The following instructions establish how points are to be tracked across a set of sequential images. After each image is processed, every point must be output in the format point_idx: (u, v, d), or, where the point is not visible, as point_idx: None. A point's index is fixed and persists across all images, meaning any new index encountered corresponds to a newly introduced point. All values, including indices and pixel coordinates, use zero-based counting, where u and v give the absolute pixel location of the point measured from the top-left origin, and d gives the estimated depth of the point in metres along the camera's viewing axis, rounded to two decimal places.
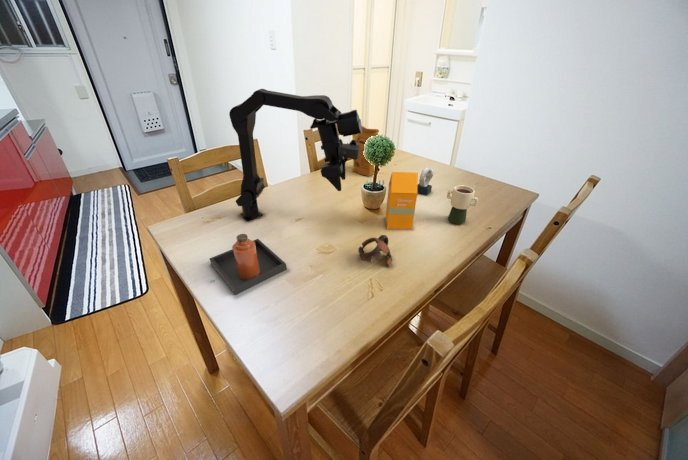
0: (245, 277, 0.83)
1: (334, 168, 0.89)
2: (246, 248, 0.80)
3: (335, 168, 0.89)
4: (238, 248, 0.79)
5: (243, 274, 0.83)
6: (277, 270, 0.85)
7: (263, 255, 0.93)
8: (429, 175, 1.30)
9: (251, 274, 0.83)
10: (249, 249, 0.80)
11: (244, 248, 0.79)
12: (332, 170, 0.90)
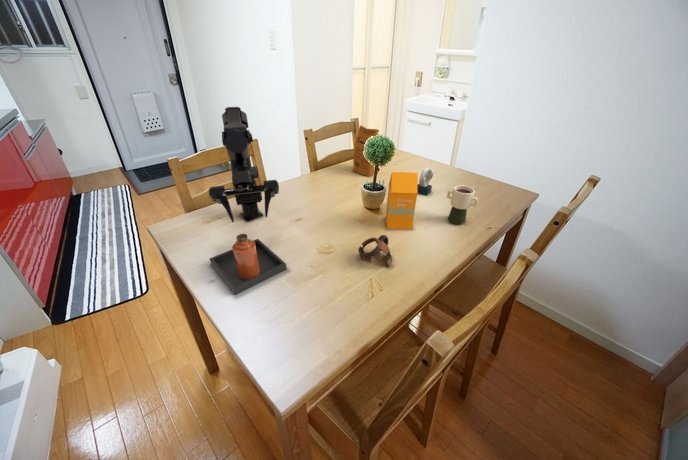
0: (245, 277, 0.83)
1: (209, 190, 0.83)
2: (246, 248, 0.80)
3: (209, 190, 0.83)
4: (238, 248, 0.79)
5: (243, 274, 0.83)
6: (277, 270, 0.85)
7: (263, 255, 0.93)
8: (429, 175, 1.30)
9: (251, 274, 0.83)
10: (249, 249, 0.80)
11: (244, 248, 0.79)
12: None
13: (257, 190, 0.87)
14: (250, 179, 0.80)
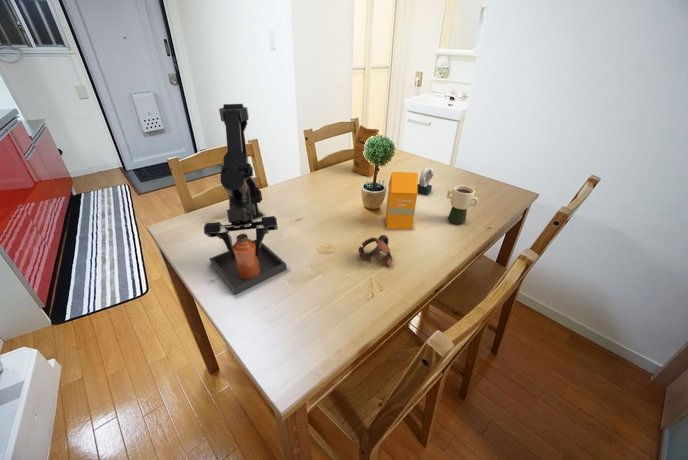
0: (245, 277, 0.83)
1: None
2: (246, 248, 0.80)
3: None
4: (238, 248, 0.79)
5: (243, 274, 0.83)
6: (277, 270, 0.85)
7: (263, 255, 0.93)
8: (429, 175, 1.30)
9: (251, 274, 0.83)
10: (249, 249, 0.80)
11: (244, 248, 0.79)
12: None
13: (254, 226, 0.83)
14: (245, 217, 0.76)
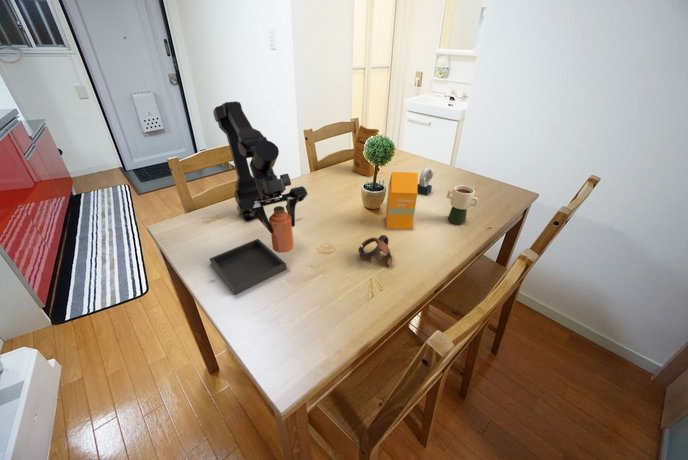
0: (284, 250, 0.84)
1: (238, 204, 0.78)
2: (285, 219, 0.80)
3: (238, 204, 0.78)
4: (277, 220, 0.79)
5: (282, 247, 0.83)
6: (277, 270, 0.85)
7: (263, 255, 0.93)
8: (429, 175, 1.30)
9: (289, 246, 0.84)
10: (288, 220, 0.81)
11: (283, 219, 0.80)
12: (238, 207, 0.78)
13: (285, 199, 0.84)
14: (284, 187, 0.77)
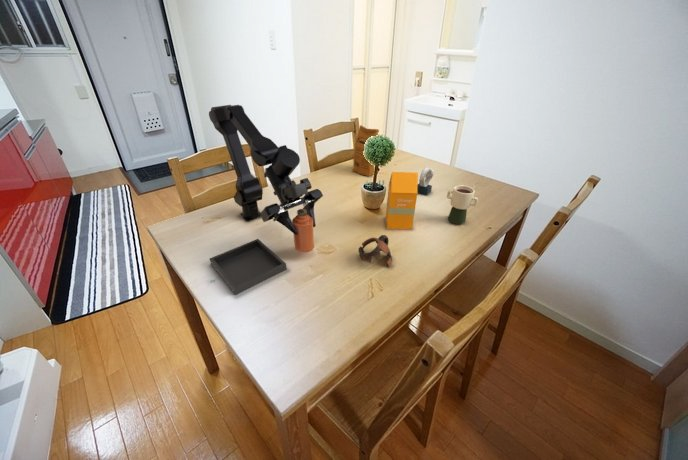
0: (307, 249, 0.89)
1: (264, 210, 0.82)
2: (308, 220, 0.86)
3: (264, 210, 0.81)
4: (302, 222, 0.85)
5: (306, 246, 0.89)
6: (277, 270, 0.85)
7: (263, 255, 0.93)
8: (429, 175, 1.30)
9: (312, 245, 0.90)
10: (311, 221, 0.87)
11: (307, 221, 0.86)
12: (264, 213, 0.82)
13: (303, 202, 0.90)
14: (307, 191, 0.83)
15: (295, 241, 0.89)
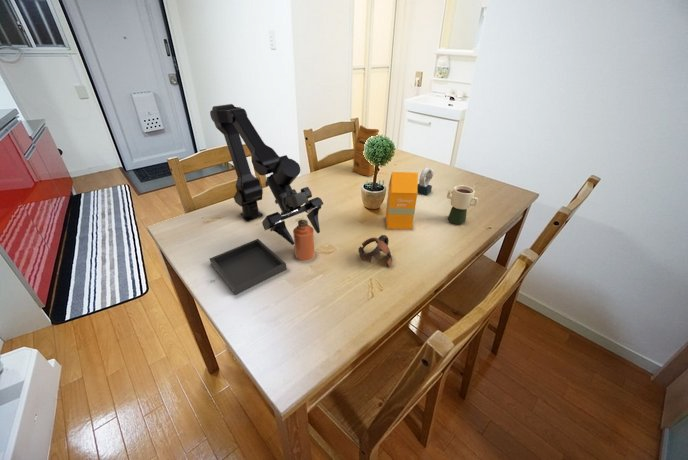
0: (308, 259, 0.91)
1: (265, 219, 0.83)
2: (309, 231, 0.88)
3: (266, 219, 0.83)
4: (303, 232, 0.87)
5: (307, 256, 0.91)
6: (277, 270, 0.85)
7: (263, 255, 0.93)
8: (429, 175, 1.30)
9: (312, 255, 0.92)
10: (311, 231, 0.88)
11: (308, 231, 0.87)
12: (266, 222, 0.84)
13: (304, 210, 0.91)
14: (307, 200, 0.85)
15: (296, 251, 0.91)
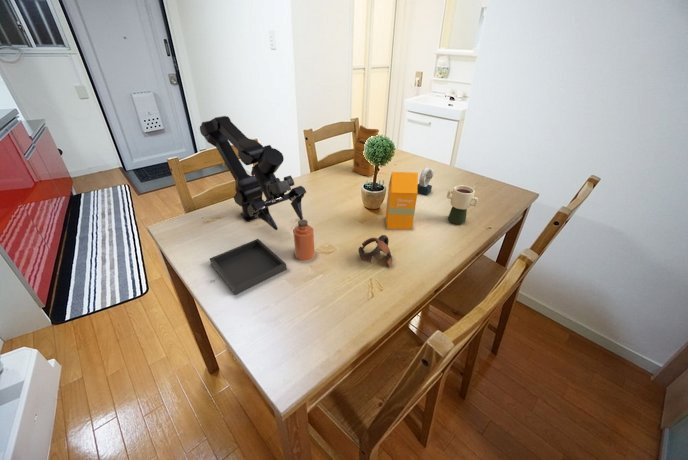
0: (308, 259, 0.91)
1: (250, 205, 0.88)
2: (309, 231, 0.88)
3: (250, 205, 0.88)
4: (303, 232, 0.87)
5: (307, 256, 0.91)
6: (277, 270, 0.85)
7: (263, 255, 0.93)
8: (429, 175, 1.30)
9: (312, 255, 0.92)
10: (311, 231, 0.88)
11: (308, 231, 0.87)
12: (250, 208, 0.89)
13: (287, 198, 0.96)
14: (290, 187, 0.90)
15: (296, 251, 0.91)
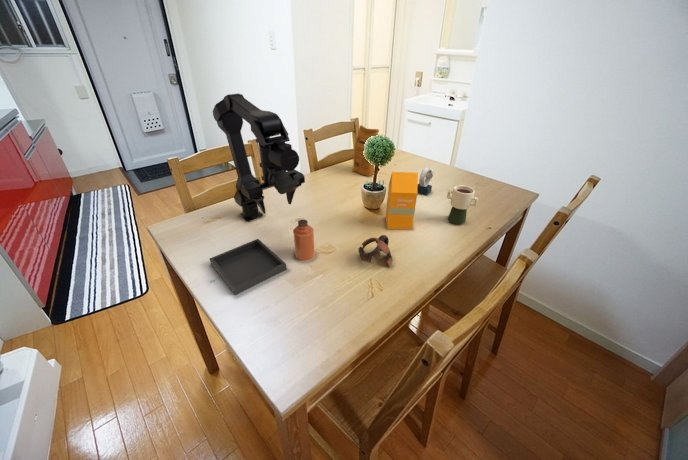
0: (308, 259, 0.91)
1: (247, 191, 0.83)
2: (309, 231, 0.88)
3: (247, 192, 0.83)
4: (303, 232, 0.87)
5: (307, 256, 0.91)
6: (277, 270, 0.85)
7: (263, 255, 0.93)
8: (429, 175, 1.30)
9: (312, 255, 0.92)
10: (311, 231, 0.88)
11: (308, 231, 0.87)
12: (246, 192, 0.84)
13: None
14: (293, 188, 0.86)
15: (296, 251, 0.91)
